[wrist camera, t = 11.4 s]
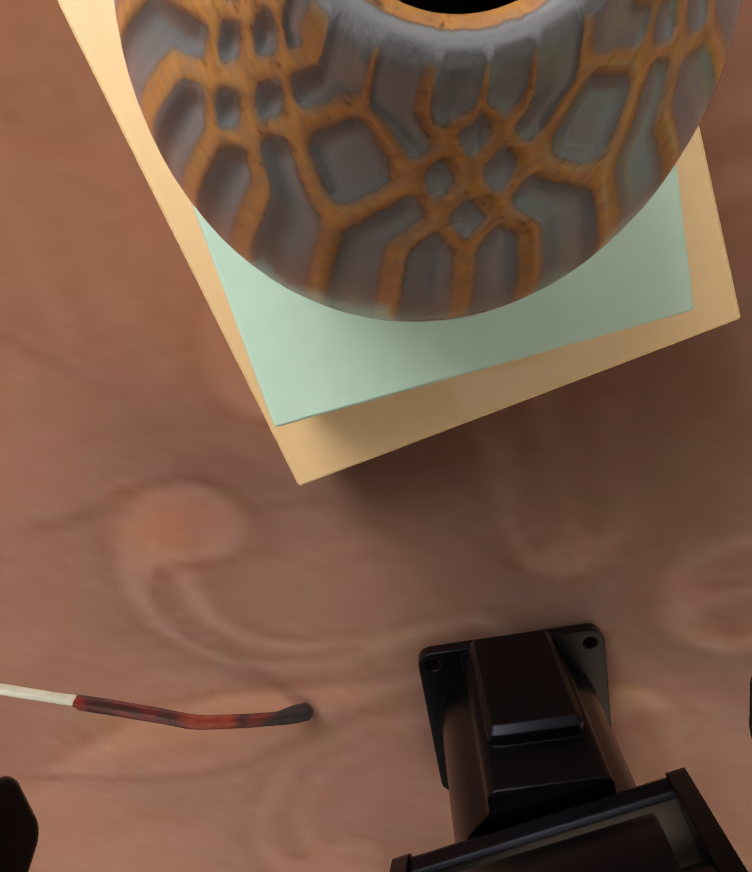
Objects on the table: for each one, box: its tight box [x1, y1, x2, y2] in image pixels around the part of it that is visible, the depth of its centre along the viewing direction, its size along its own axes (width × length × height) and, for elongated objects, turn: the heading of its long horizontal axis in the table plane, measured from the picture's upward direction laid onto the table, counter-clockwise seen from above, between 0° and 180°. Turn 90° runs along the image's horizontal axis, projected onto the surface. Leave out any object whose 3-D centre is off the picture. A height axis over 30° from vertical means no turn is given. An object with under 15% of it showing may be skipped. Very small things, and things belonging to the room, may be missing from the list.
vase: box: [114, 0, 742, 322], centre depth 7 cm, size 7×7×9 cm
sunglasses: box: [0, 683, 313, 730], centre depth 23 cm, size 14×16×5 cm
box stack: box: [57, 0, 740, 486], centre depth 14 cm, size 15×12×6 cm
